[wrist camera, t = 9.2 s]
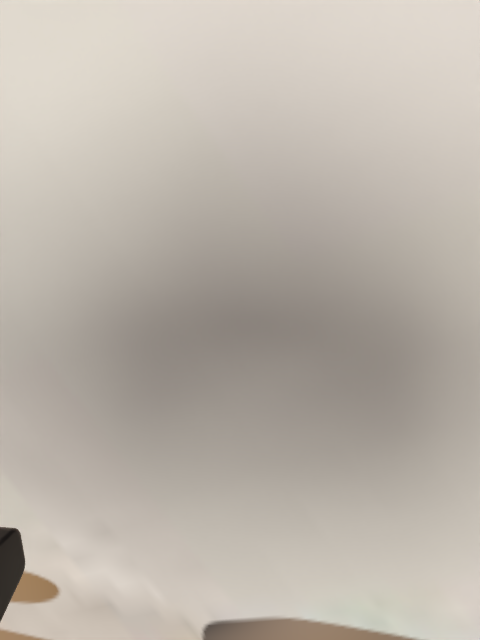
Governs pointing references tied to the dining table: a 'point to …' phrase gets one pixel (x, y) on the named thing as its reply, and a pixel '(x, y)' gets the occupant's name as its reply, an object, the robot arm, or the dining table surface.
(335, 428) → the dining table surface
